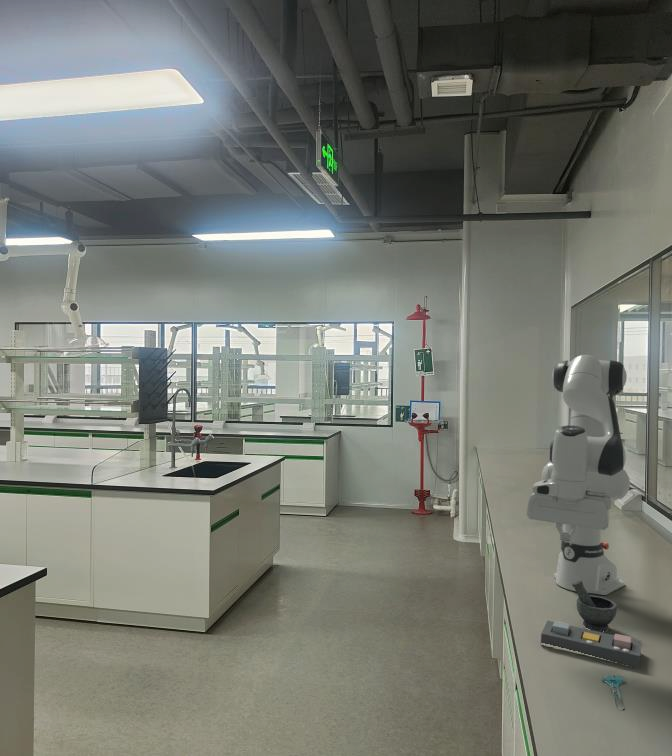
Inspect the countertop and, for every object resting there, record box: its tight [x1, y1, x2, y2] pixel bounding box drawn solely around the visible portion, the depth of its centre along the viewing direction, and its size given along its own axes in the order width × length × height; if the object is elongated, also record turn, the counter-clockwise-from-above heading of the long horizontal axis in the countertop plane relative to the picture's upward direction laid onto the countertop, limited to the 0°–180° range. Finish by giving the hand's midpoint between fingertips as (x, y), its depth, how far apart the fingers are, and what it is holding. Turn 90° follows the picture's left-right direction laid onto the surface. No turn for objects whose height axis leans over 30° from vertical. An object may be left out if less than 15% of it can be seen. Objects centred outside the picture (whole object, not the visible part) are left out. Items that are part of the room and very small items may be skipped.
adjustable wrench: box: [601, 674, 627, 699], centre depth 134 cm, size 14×1×5 cm
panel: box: [540, 620, 642, 669], centre depth 154 cm, size 22×9×3 cm, turn 62°
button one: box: [582, 632, 600, 643], centre depth 154 cm, size 4×4×2 cm
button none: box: [552, 620, 571, 636], centre depth 158 cm, size 4×4×2 cm
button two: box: [614, 633, 632, 650], centre depth 151 cm, size 4×4×2 cm
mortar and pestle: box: [572, 580, 618, 633], centre depth 167 cm, size 11×9×12 cm
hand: (566, 540), depth 166 cm, fingers closed
